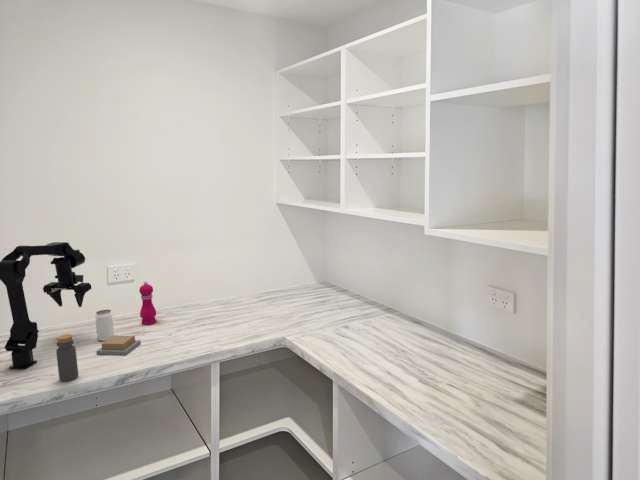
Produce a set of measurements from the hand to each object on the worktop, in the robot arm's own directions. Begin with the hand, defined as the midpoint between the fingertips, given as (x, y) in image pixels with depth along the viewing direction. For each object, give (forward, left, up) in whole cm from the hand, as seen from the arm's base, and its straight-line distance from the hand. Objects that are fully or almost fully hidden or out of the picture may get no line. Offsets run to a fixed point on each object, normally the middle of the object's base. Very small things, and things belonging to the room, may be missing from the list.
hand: (70, 306), depth 196 cm
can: (+1, -14, -15) cm, 20 cm away
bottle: (-36, -22, -15) cm, 45 cm away
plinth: (-10, -26, -14) cm, 31 cm away
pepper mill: (+22, -23, -15) cm, 35 cm away
